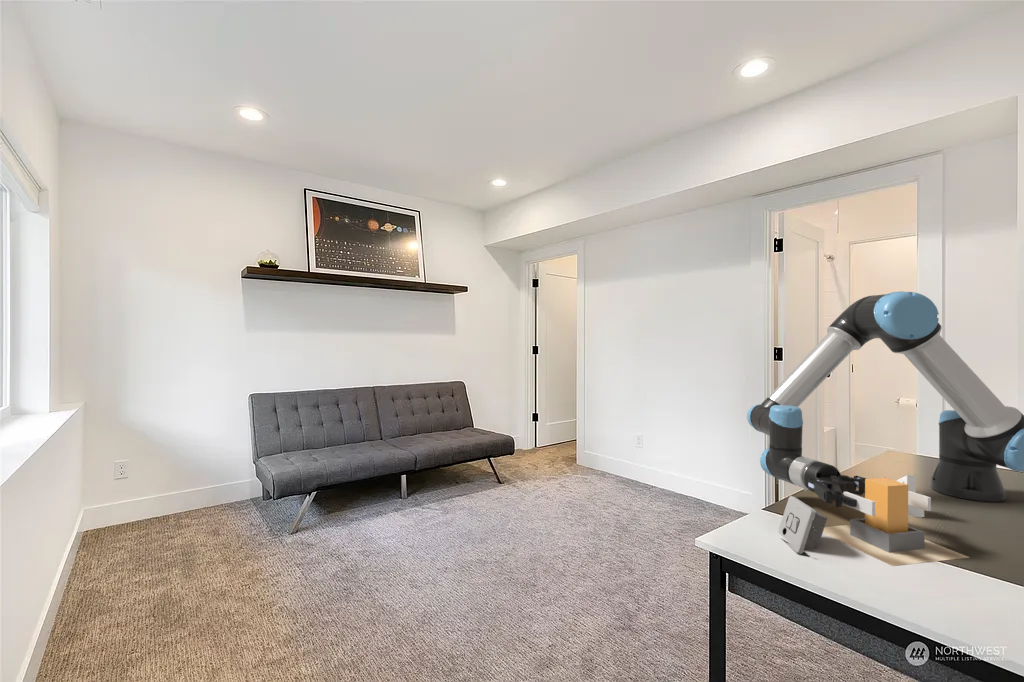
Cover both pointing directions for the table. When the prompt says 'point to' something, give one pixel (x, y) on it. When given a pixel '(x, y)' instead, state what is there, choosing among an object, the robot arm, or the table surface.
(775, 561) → the table surface
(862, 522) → the socket cup
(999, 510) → the table surface
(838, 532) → the mounting board
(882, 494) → the connector plug
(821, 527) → the electrical switch
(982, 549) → the table surface
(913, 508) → the white wedge bracket
